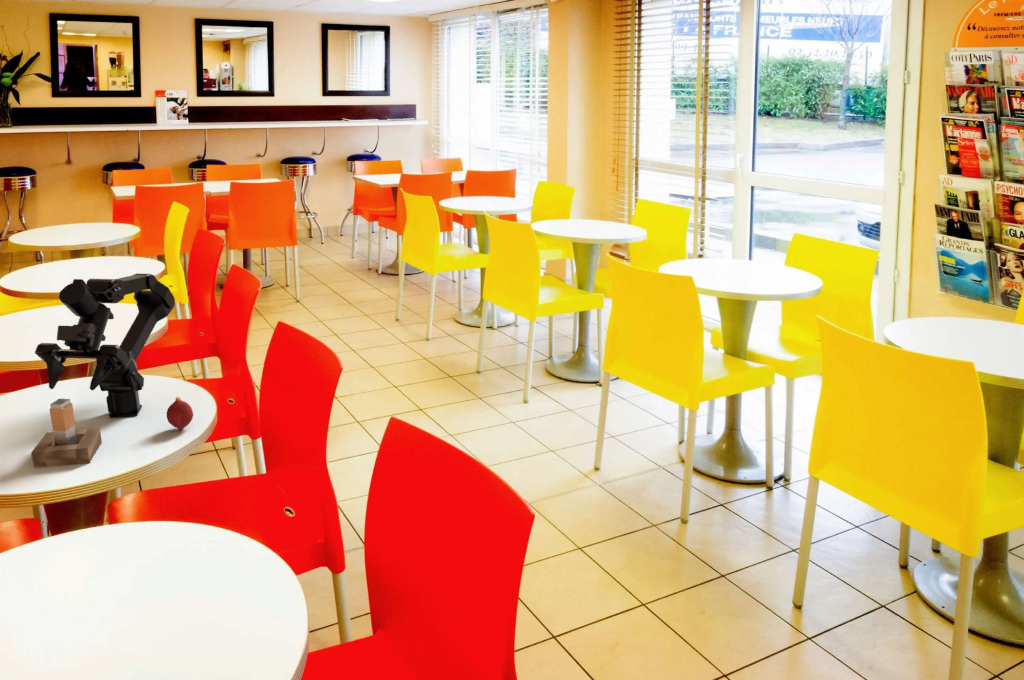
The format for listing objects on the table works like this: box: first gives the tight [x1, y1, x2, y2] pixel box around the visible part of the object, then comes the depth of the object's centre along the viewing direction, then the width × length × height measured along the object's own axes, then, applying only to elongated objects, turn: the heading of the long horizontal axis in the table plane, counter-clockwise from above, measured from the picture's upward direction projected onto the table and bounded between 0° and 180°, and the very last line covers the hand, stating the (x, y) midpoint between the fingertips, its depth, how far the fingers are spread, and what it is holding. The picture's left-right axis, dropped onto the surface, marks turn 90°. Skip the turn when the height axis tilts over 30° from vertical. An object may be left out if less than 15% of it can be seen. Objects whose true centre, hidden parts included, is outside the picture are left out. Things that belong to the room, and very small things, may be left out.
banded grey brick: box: [49, 398, 77, 446], centre depth 185 cm, size 4×3×12 cm
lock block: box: [30, 427, 103, 469], centre depth 186 cm, size 11×11×4 cm
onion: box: [166, 396, 194, 430], centre depth 199 cm, size 6×6×8 cm
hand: (71, 389), depth 187 cm, fingers open, 9 cm apart
